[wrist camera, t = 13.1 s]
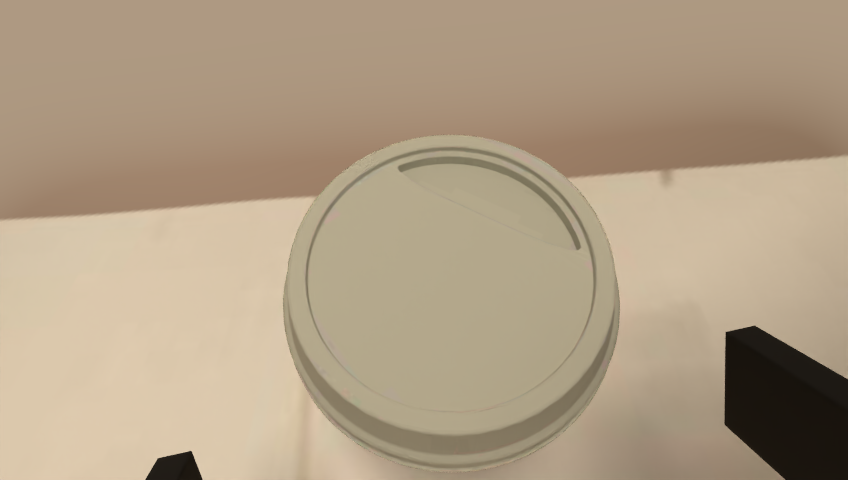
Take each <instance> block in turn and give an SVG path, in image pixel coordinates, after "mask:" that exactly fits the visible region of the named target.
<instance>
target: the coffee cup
mask: <svg viewBox="0 0 848 480" xmlns="http://www.w3.org/2000/svg"><path fill="white" fill-rule="evenodd" d="M283 312H284V325H285V332H286V337H287V342H288V345H289V349H290V352H291V355H292V358H293V360H294V363H295V366H296V369H297V371H298V374H299V376H300V378H301V380H302V382H303V384H304V386H305V388H306V390H307V392H308V393H309V395H310V396H311V398H312V399H313V401H314V402H315V404H316V405H317V406H318V408H319V409H320V410H321V412H322V413H323V414H324V415H325V416H326V417H327V418H328V419H329V421H330V422H331V423H332V424H333V425H334V426H336V427H337V428H338V429H339V430H340V431H341V432H342V433H343V434H345V435H346V436H347V437H348V438H350V439H351V440H353V441H354V442H355V443H357V444H358V445H360V446H362V447H363V448H365V449H367V450H368V451H370V452H372V453H374V454H376V455H378V456H380V457H382V458H385V459H387V460H390V461H392V462H395V463H398V464H401V465H404V466H408V467H412V468H416V469H421V470H427V471H436V472H470V471H478V470H484V469H489V468H494V467H498V466H501V465H505V464H508V463H511V462H513V461H516V460H518V459H521V458H523V457H525V456H527V455H529V454H531V453H533V452H535V451H537V450H539V449H540V448H542V447H544V446H545V445H547V444H548V443H550V442H551V441H553V440H554V439H555V438H556V437H558V436H559V435H560V434H561V433H563V432H564V431H565V430H566V429H567V428H568V427H569V426H570V425H571V424H572V423H573V422H574V421H575V420H576V419H577V418H578V417H579V416H580V415H581V413H582V412H583V411H584V410H585V408H586V407H587V406H588V404H589V403H590V401H591V400H592V398H593V397H594V395H595V394H596V392H597V390H598V388H599V386H600V384H601V382H602V380H603V378H604V376H605V373H606V371H607V368H608V365H609V363H610V360H611V357H612V355H613V351H614V348H615V344H616V339H617V334H618V328H619V315H620V302H619V290H618V283H617V278H616V273H615V266H614V260H613V255H612V251H611V248H610V244H609V241H608V239H607V236H606V233H605V231H604V228H603V226H602V224H601V223H600V221H599V219H598V217H597V215H596V213H595V212H594V210H593V209H592V207H591V206H590V204H589V203H588V201H587V200H586V199H585V198H584V196H583V195H582V194H581V193H580V192H579V190H578V189H577V188H576V187H575V186H574V185H573V184H572V183H571V182H570V181H569V180H568V179H567V178H566V177H564V176H563V175H562V174H561V173H560V172H558V171H557V170H556V169H554V168H553V167H552V166H550V165H549V164H547V163H546V162H544V161H543V160H541V159H539V158H538V157H536V156H534V155H532V154H530V153H528V152H526V151H524V150H521V149H519V148H517V147H514V146H511V145H509V144H505V143H502V142H498V141H495V140H491V139H487V138H482V137H475V136H466V135H435V136H425V137H419V138H415V139H410V140H406V141H402V142H398V143H396V144H393V145H390V146H387V147H385V148H382V149H380V150H378V151H375V152H373V153H371V154H369V155H368V156H366V157H364V158H362V159H360V160H359V161H357V162H356V163H354V164H353V165H351V166H350V167H348V168H347V169H346V170H344V171H343V172H342V173H341V174H340V175H338V176H337V177H336V178H335V179H334V180H333V181H331V183H330V184H329V185H328V186H327V187H326V188H325V189H324V190H323V191H322V192H321V193H320V195H319V196H318V197H317V198H316V200H315V201H314V202H313V204H312V206H311V207H310V209H309V210H308V212H307V213H306V215H305V217H304V219H303V221H302V223H301V225H300V227H299V229H298V231H297V234H296V237H295V239H294V242H293V245H292V249H291V253H290V258H289V263H288V271H287V276H286V281H285V287H284V298H283Z"/></svg>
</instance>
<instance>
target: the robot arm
mask: <svg viewBox="0 0 848 480" xmlns="http://www.w3.org/2000/svg"><path fill="white" fill-rule="evenodd" d="M725 425H726V426H727V427H728V428H729V429H730V430H731V431H732V432H733V433H734V434H736V435H737V436H738V437H739V438H740V439H741V440H742V441H743V442H744V443H746V444H747V445H748V446H749V447H750V448H751V449H752V450H753V451H754V452H756V453H757V454H758V455H759V456H760V457H761V458H762V459H763V460H764V461H765V462H767V463H768V464H769V465H770V466H771V467H772V468H773V469H774V470H775V471H777V472H778V473H779V474H780V475H781V476H782V477H783V478H784V479H785V480H848V379H846V378H844V377H843V376H841V375H839V374H837V373H836V372H834V371H832V370H830V369H829V368H827V367H825V366H824V365H822V364H820V363H818V362H817V361H815V360H813V359H811V358H810V357H808V356H806V355H805V354H803V353H801V352H799V351H798V350H796V349H794V348H792V347H791V346H789V345H787V344H785V343H784V342H782V341H780V340H779V339H777V338H775V337H773V336H772V335H770V334H768V333H766V332H765V331H763V330H761V329H759V328H758V327H756V326H751V327H747V328H742V329H738V330H733V331H729V332H726V346H725ZM146 480H202V477H201V474H200V472H199V469H198V467H197V464H196V462H195V459H194V456H193V454H192V451H189V452H185V453H180V454H176V455H171V456H167V457H162V458H158V459H157V461H156V463H155V464H154V466H153V468H152V469H151V471H150V473H149V474H148V476H147V478H146Z"/></svg>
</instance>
